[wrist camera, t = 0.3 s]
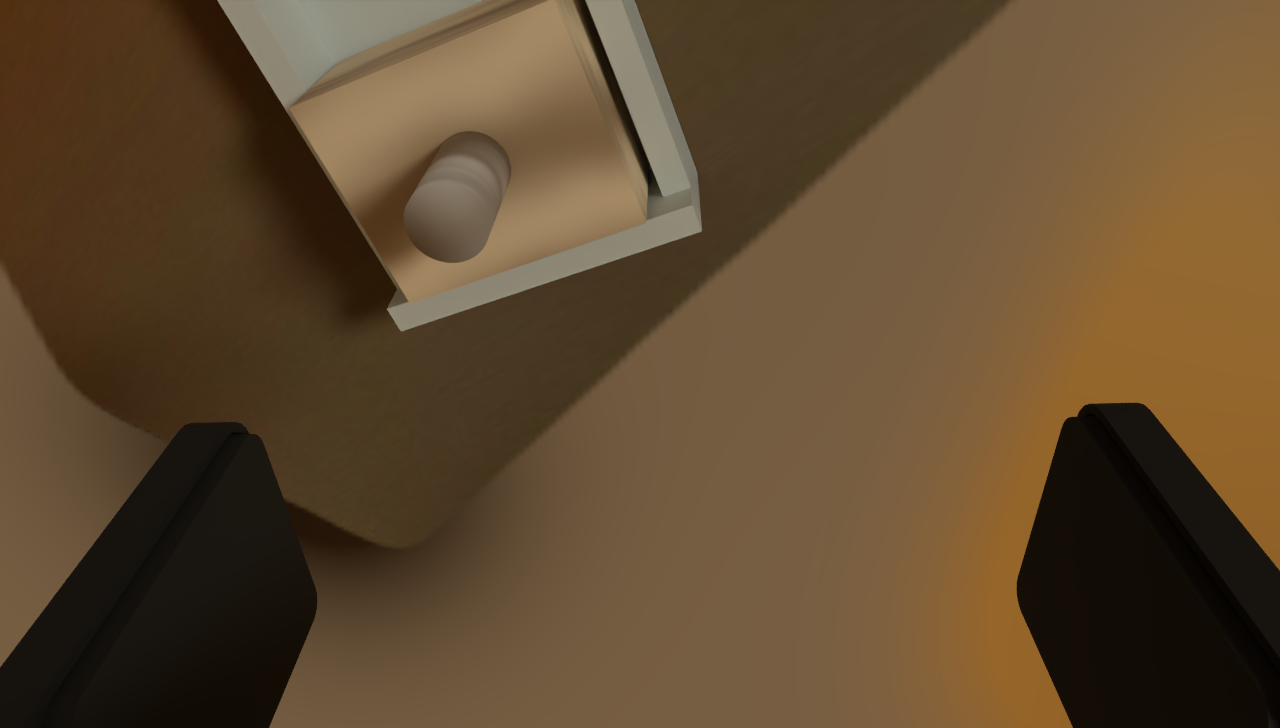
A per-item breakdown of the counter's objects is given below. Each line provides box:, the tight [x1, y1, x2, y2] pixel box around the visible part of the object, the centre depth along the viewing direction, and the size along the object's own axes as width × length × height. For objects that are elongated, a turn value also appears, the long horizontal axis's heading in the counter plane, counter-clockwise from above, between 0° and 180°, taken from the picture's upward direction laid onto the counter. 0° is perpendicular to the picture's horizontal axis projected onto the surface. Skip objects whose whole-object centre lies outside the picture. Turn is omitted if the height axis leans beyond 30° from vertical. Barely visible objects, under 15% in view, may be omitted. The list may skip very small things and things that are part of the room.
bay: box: [217, 0, 702, 331], centre depth 38 cm, size 24×16×7 cm, turn 21°
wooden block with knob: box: [289, 0, 649, 303], centre depth 37 cm, size 10×12×13 cm
